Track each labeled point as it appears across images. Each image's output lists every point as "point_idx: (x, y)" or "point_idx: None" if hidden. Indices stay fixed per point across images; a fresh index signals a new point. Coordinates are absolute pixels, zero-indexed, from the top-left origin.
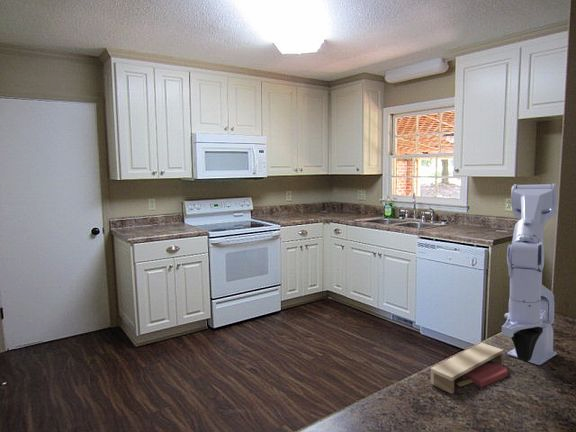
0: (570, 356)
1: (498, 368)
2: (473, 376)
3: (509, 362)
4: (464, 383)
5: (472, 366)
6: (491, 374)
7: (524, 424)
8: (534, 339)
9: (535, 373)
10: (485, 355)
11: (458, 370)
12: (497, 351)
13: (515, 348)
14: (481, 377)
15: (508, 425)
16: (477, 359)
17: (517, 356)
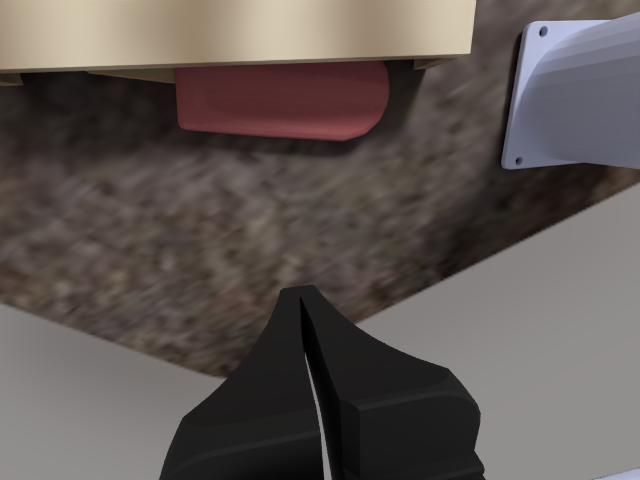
0: (623, 188)
1: (347, 102)
2: (187, 72)
3: (460, 76)
4: (116, 73)
5: (155, 64)
6: (275, 116)
7: (129, 336)
8: (331, 476)
9: (438, 189)
10: (338, 27)
11: (26, 39)
12: (431, 44)
13: (271, 318)
14: (214, 104)
15: (76, 321)
16: (254, 27)
17: (280, 292)
